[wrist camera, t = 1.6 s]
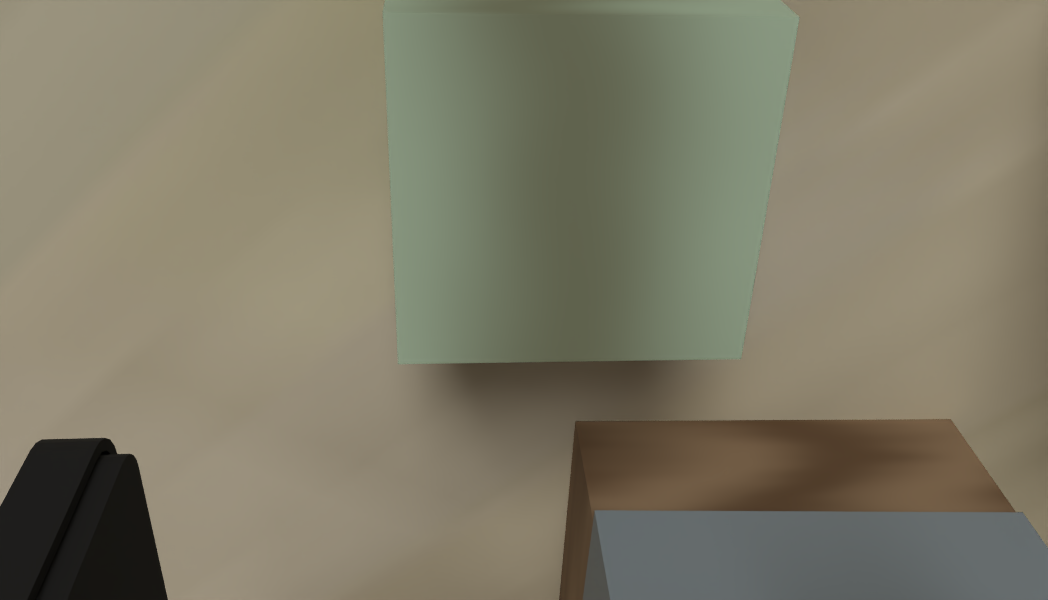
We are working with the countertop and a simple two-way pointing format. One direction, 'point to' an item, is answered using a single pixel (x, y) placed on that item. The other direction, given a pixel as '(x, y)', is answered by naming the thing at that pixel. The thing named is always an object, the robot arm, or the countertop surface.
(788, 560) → the slab top
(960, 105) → the countertop surface
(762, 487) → the slab bottom
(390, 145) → the sage block
